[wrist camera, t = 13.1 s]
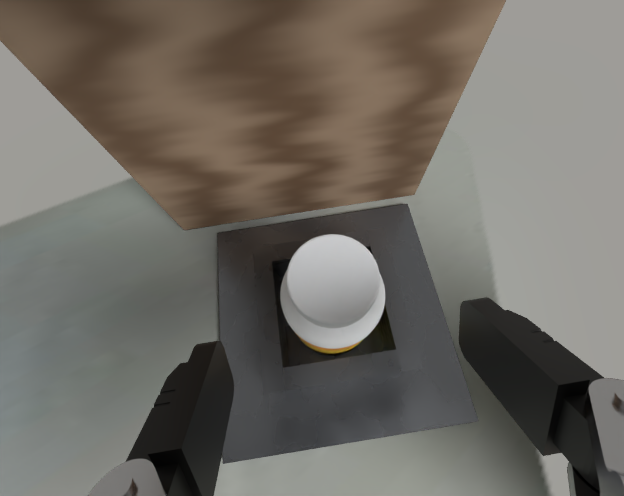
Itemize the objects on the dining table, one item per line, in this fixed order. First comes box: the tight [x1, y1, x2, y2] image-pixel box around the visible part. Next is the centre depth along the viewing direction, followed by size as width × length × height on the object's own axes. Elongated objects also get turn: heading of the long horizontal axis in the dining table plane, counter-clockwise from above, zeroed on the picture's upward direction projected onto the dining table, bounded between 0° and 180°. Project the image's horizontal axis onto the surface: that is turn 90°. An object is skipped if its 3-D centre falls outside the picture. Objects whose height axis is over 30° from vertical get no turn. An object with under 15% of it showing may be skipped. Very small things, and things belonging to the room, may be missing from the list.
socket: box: [218, 204, 478, 464], centre depth 20 cm, size 16×16×4 cm
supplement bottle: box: [280, 234, 385, 356], centre depth 17 cm, size 5×5×10 cm
